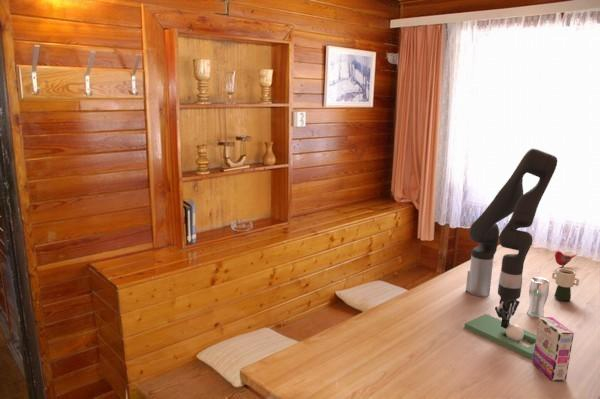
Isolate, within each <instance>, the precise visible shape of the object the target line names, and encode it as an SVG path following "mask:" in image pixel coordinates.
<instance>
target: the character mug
mask: <svg viewBox="0 0 600 399" xmlns="http://www.w3.org/2000/svg"><path fill="white" fill-rule="evenodd" d="M576 275H577V273H576V271H574V270H573V269H569V268H557V269H556V271H552V275H551V278H552V279H553V280H555V284H556V285H557V286H556V289H555V293H554V298H556V299H557V300H560V301H570V300H571V296H572V289H571V288H573V287H574V286H576V287H577V286H579V285H580V278H578V277H576Z"/></svg>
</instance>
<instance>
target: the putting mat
mask: <svg viewBox="0 0 600 399" xmlns="http://www.w3.org/2000/svg"><path fill="white" fill-rule="evenodd" d="M501 322H502V319H499V318H498V317H495V316H492V315H489V314H487V313H484V314H482V315H480V316H478V317H475V318H473V319H471V320H469V321H467V322H465V323H464V327H463V329H466V330H467V331H469V332H472V333H474V334H476V335H478V336H480V337H483V338H484V339H487V340H489V341H491V342H493V343H496V344H497V345H499V346H502V347H504V348H506V349H509V350H511V351H513V352H515V353H517V354H519V355H522V356H524V357H526V358H528V359H530V360H533V357H534V350H535V343H536V336H537V334H534V333H532V332H530V331H528V330H525V329H523V332H524V336H523V338H522V340H524V341H527V342H529V343H531V344H530V345H529V346H526V345H525V344H522V343H520V342H519V341H517V342H516V341H513V340H511V339H509V338H508V337H507V336H506V329H507V328H506V329H505V328H503V327H501ZM510 325H512V324H511V323H509V326H510Z"/></svg>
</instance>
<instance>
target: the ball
mask: <svg viewBox="0 0 600 399" xmlns="http://www.w3.org/2000/svg"><path fill="white" fill-rule="evenodd" d="M523 330H524V329H523V328H522V326H520V325H518V324H514V323H513V324H511V325H510V326H508V327H507V329H506V336H507V338H509V339H511V340H513V341H516V342H520V341H521V340H523V339H522V338H523V336H524V332H523Z"/></svg>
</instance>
